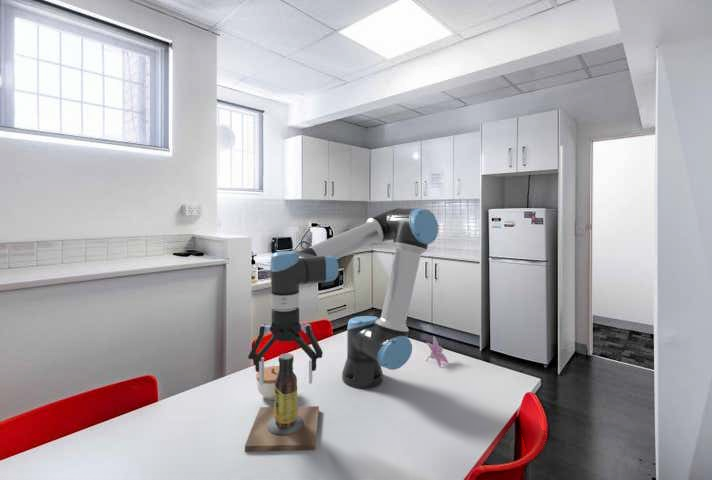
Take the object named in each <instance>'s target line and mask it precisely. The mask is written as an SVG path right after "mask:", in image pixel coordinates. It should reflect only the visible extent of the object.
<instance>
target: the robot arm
mask: <svg viewBox="0 0 712 480" xmlns="http://www.w3.org/2000/svg"><path fill="white" fill-rule="evenodd" d="M438 235H439V223H438V219H437V218H436V215H435V214H434V213H433V212H432V211H431V210H429V209H426V208H419V207H415V208H410V207H409V208H402V207H401V208H400V207H399V208H398V207H397V208H392V209H389V210H387V211H386V210H385V211H384V212H382V213H379V214H377V215H375V216H372V217H370V218H368V219H366V222H365V223H363V224H360V225H358V226H356V227H353V228H351V229H348V230H346V231H344V232H341V233H339V234H336V235H334V236H332V237H330V238H327V239H325V240H323V241H320V242H318V243H315V244H313V245H310V246H308V247H305V248H303V249H300V250H291V251H289V250H287V251H284V250H283V251H282V250H281V251H276V252H274V253H272V254H271V255H270V256H271V257H270V268H269V269H270V270H269V272H270V284H271V286H270V287H271V291H270V292H271V293H270V295H271V296H270V298H271V299H270V304H271V308H272V309H271V325H267V324H266V323H262V324H261V325H260V327H259V333H258V337H257V338H256V340H255V341H254V343H253V346H252V348H251V349H250V352H249V354H248V359H249V360H254V362H255V367H254V368H255V372H256V373H257V372H259V384H260V385H262V384H263V382H264V368H265V358H264V357H263V356H264V355H265V354H266V353H267V352H268V350H269V349H270V348H272V346H273V345H274V344H275V343H276V341H278V342H280V343H283V342H287V343H290V342H292V341H294V342H295V344H297V345H298V346H299V347H300V348H301V349H302V351H303V352H304V353H305V354H306V355H307V356H308V357H309V358H308V384H309V385H311V384H313V383H312V382H313V372H315V371H316V370H317V359H321V358H323V350H322V348H321V346H320V344H319V342H318V340H317V339H316V337H315V335H314V333H313V330H312V324H311V323H310V322H308V323H306V324H302V325H301V324H300V308H299V306H300V286H302V285H311V284H318V283H320V284H321V283H328V282H331V281H332V282H333V281H335V280H336V279H337V277H338V276H339V273H340V271H339V264H338V263H339V262H338V260H339V259H340V258H342V257H346V256H348V255H350V254H351V253H355V252H356V251H358V250H360V249H362V248H365V247H367V246H369V245H372V244H374V243H375V244H380V243H383V242H385V241H393V246H394V247H395V254H394V258H393V262H392V265H391V266H392V267H391V270H390V271H391V272H390V275H389V276H390V277H389V280H388V284H387V288H386V293H385V298H384V301H383V305H382V309H381V315H380V317H378V316H373V315H361V316H355V317H354V316H353V317H352V318H350V319H349V320H348V322H347V329H346V330H347V336H346V337H347V339H346V341H347V342H346V343H347V345H346V346H347V347H346V349H347V351H346V352H347V354H346V355H347V356H346V359H345V363H344V366H343V369H342V373H341V375H342V377H341V378H342V379H341V380H342V381H343V382H344V383H345V384H346V385H347V386H349V387H353V388H356V389H370V388H375V387H377V386H379V385H381V384H382V382H383V381H384V373H383V369H382V368H385V369H387V370H394V371H395V370H398V369H400V368H402V367H403V366H404V365H406V363H407V362H408V361H409V360H410V357H411V356H412V352H413V344H412V342H411V340H410V339H409V338H408V336H409V332H410V331H409V328H408V326H407V323H406V322H407V319H408V314H409V311H410V310H409V309H410V306H411V301H412V298H413V292H414V287H415V283H416V278H417V274H418V269H419V266H420V261H421V256H422V254H424V253H426V252H427V250H428V245H430V244H432V243H433V242H434V241H436V239H437V237H438ZM269 331H270V333H271V334H272V337H271V338H270V339H269V340H268V341H267V343H266V344H265V345H264V346H263V347H262V348H261V349H260V351H259V352H258V353H257V350H258V349H259V346H260V344H261V342H262V341H263V339H264V336H265V335H267V333H268V332H269ZM301 331H303V333H304V334H306V337H307V339H308V340H309V343H310V345H311V346H312V348H313V349H312V348H311V346H310V345H309V344H308V343H307V342H306V341H305V339H304V338H303V337H302V335H301V334H300V332H301Z"/></svg>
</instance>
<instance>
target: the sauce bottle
mask: <svg viewBox="0 0 712 480" xmlns="http://www.w3.org/2000/svg"><path fill="white" fill-rule="evenodd" d="M294 360H295V359H294V355H293V354H292V353H288V352H287V353H286V352H285V353H281V354H279V357H278V362H279V364H278V366H279V373H278V376H277V378H276V381H275V399H274V407H275V423H276V425H277V426H278V427H281V428H289V427H291V426H293V425H294V424H295V423H296V420H297V407H298V377H297V376H296V374H295V373H294Z"/></svg>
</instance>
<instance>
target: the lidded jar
mask: <svg viewBox="0 0 712 480" xmlns="http://www.w3.org/2000/svg"><path fill="white" fill-rule="evenodd" d="M278 373H279V365H271V366H266V367H265V366H264V382H263V384H262V385H260V384H259V372H256V375H255V378H256V387H257V390H258V393H259V394H260V395H261V396H263V398H264V399H265V400H270V401H271V400H272V401H273V400H275V381H276V378H277V376H278Z"/></svg>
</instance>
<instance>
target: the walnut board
mask: <svg viewBox="0 0 712 480" xmlns="http://www.w3.org/2000/svg"><path fill="white" fill-rule="evenodd" d="M319 415H320V406H317V405H316V406H312V405H311V406H309V405H308V406H297V420H296V423H295V424H294V425H293V426H291V427H289V428H281V427H278V426H277V425H276V423H275V406H260V407H259V409H258V413H257V414H256V416H255V419H254V421H253V424H252V426H251V429H250V432H249V434H248V437H247V439H246V442H245V445H244V452H288V451H290V452H292V451H293V452H294V451H297V452H298V451H316V447H317V436H318V435H317V434H318V426H319V424H318V423H319Z"/></svg>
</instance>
